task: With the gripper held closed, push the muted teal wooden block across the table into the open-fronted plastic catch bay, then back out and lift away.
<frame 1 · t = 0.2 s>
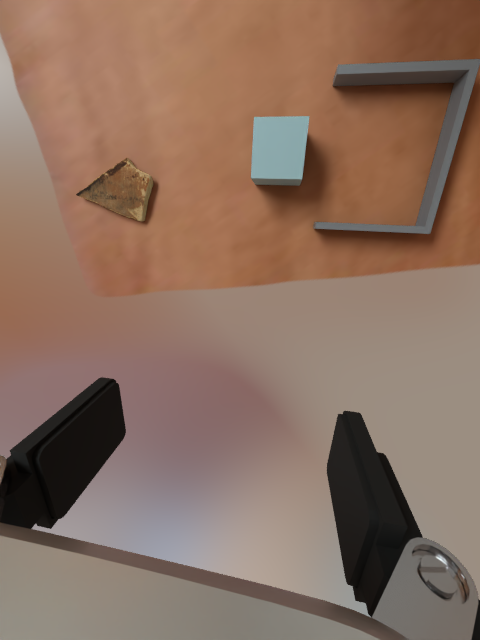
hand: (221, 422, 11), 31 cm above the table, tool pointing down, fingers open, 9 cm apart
shard: (125, 200, 39), on the table
catch bay: (376, 160, 32), on the table
teal block: (279, 159, 33), on the table
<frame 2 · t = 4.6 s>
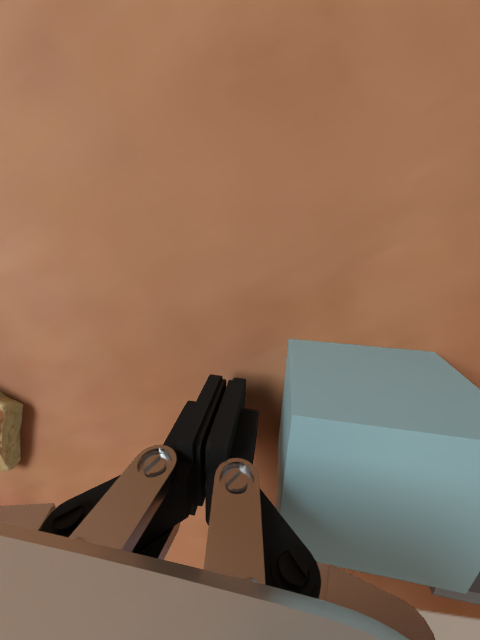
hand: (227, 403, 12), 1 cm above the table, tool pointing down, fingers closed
teal block: (346, 402, 12), on the table, touching gripper
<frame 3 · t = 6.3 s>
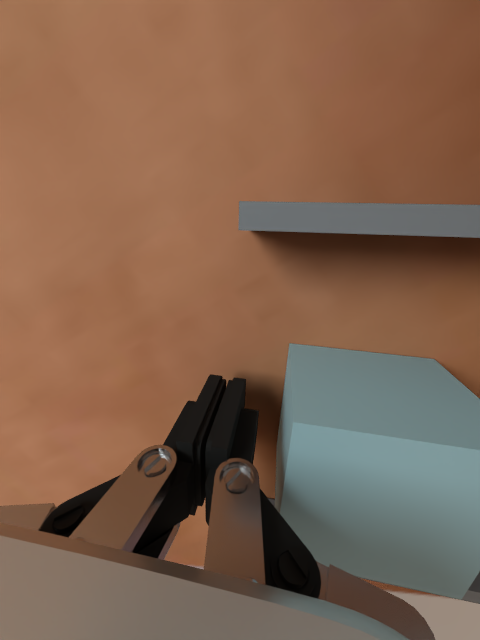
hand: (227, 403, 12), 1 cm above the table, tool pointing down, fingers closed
catch bay: (381, 405, 12), on the table
teal block: (345, 406, 12), on the table, touching gripper
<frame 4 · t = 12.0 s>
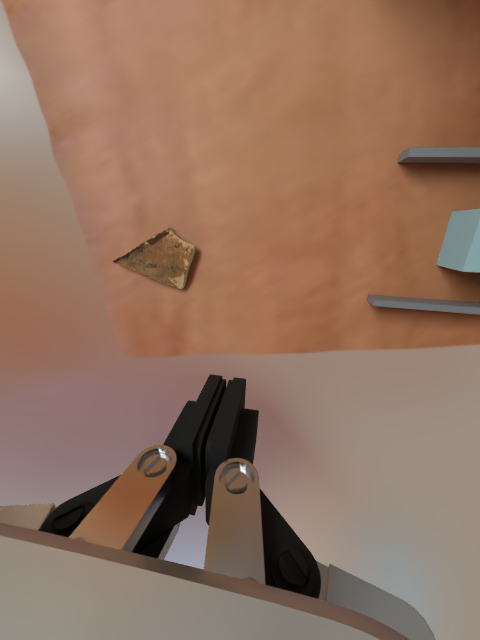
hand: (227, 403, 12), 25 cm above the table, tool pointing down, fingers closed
shard: (164, 266, 37), on the table
catch bay: (440, 236, 30), on the table
teal block: (471, 240, 29), on the table
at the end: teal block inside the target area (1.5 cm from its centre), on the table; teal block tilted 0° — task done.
